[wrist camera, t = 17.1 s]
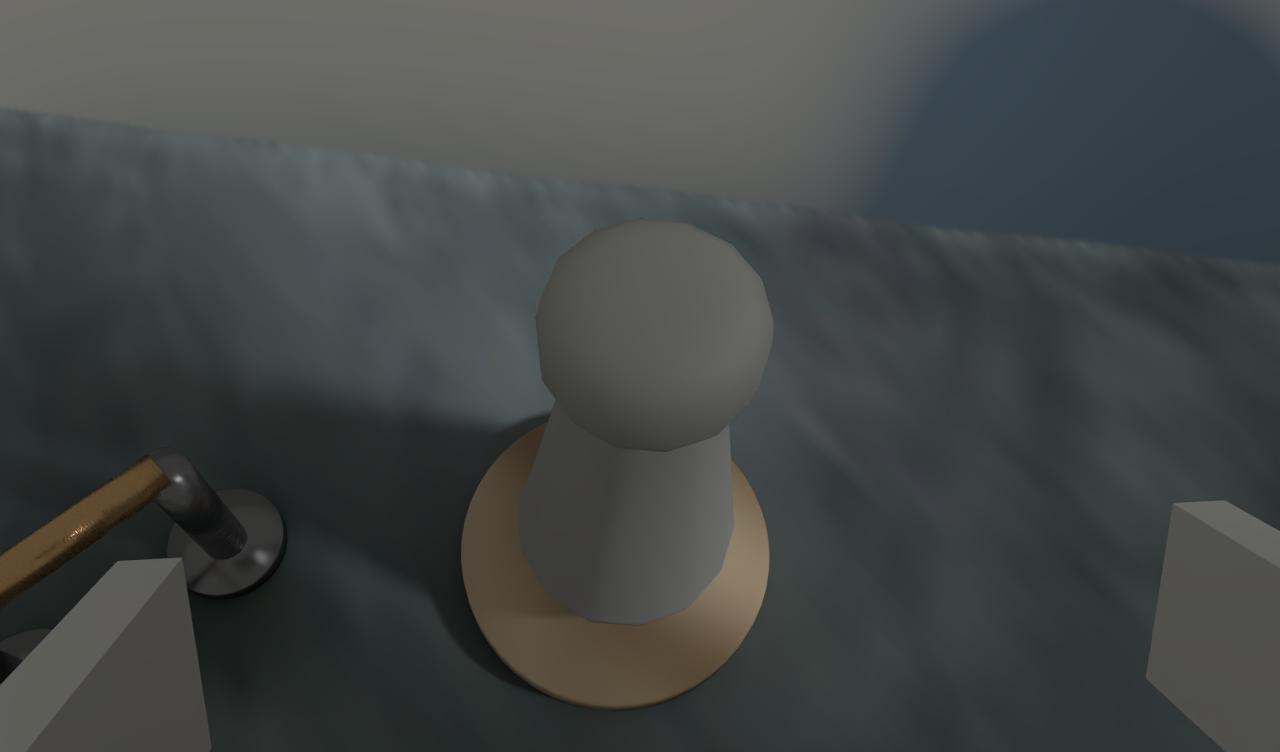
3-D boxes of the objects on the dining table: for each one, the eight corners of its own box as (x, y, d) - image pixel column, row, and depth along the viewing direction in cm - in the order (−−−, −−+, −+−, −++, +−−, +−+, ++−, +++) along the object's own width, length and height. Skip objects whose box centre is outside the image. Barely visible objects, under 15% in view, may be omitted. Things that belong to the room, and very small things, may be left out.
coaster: (617, 371, 31) (619, 356, 30) (823, 559, 29) (831, 548, 28) (401, 549, 28) (396, 538, 27) (612, 783, 25) (614, 779, 24)
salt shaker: (752, 517, 28) (881, 255, 17) (659, 686, 25) (737, 511, 14) (586, 424, 29) (602, 119, 18) (480, 577, 26) (420, 334, 15)
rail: (246, 474, 29) (173, 374, 23) (511, 782, 25) (497, 748, 19) (-54, 692, 25) (-223, 633, 20) (204, 1091, 21) (83, 1153, 16)
